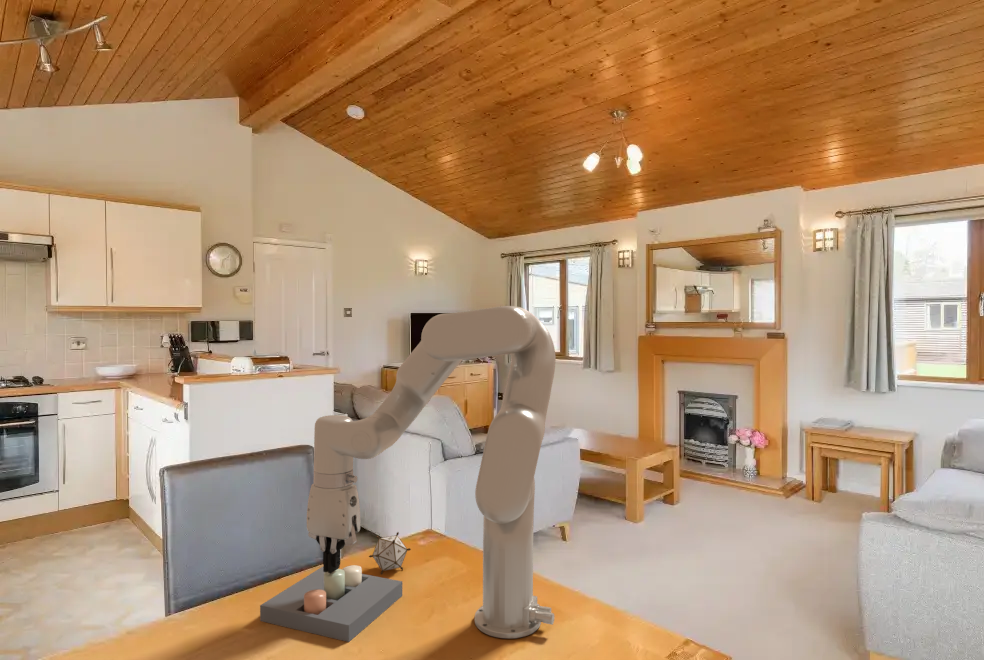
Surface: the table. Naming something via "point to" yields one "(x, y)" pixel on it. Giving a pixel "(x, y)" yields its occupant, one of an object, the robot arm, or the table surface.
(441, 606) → the table surface
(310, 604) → the pink egg
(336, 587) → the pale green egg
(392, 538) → the game die
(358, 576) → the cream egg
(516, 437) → the robot arm
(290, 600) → the panel
